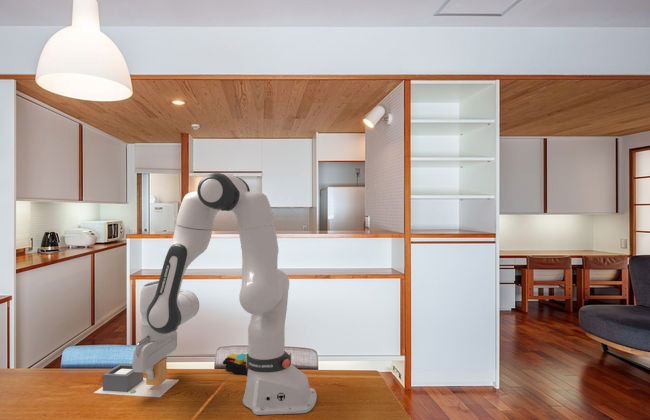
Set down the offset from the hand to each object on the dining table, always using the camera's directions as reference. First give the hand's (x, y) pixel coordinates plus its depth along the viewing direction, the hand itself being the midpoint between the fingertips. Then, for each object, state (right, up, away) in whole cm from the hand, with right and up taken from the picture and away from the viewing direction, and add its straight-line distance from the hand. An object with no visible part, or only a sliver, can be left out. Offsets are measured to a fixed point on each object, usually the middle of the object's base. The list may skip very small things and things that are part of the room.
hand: (156, 374), depth 126 cm
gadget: (+25, -5, +14) cm, 29 cm away
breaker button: (-11, -3, +1) cm, 12 cm away
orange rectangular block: (0, -2, 0) cm, 2 cm away
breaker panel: (-6, -5, +1) cm, 8 cm away
